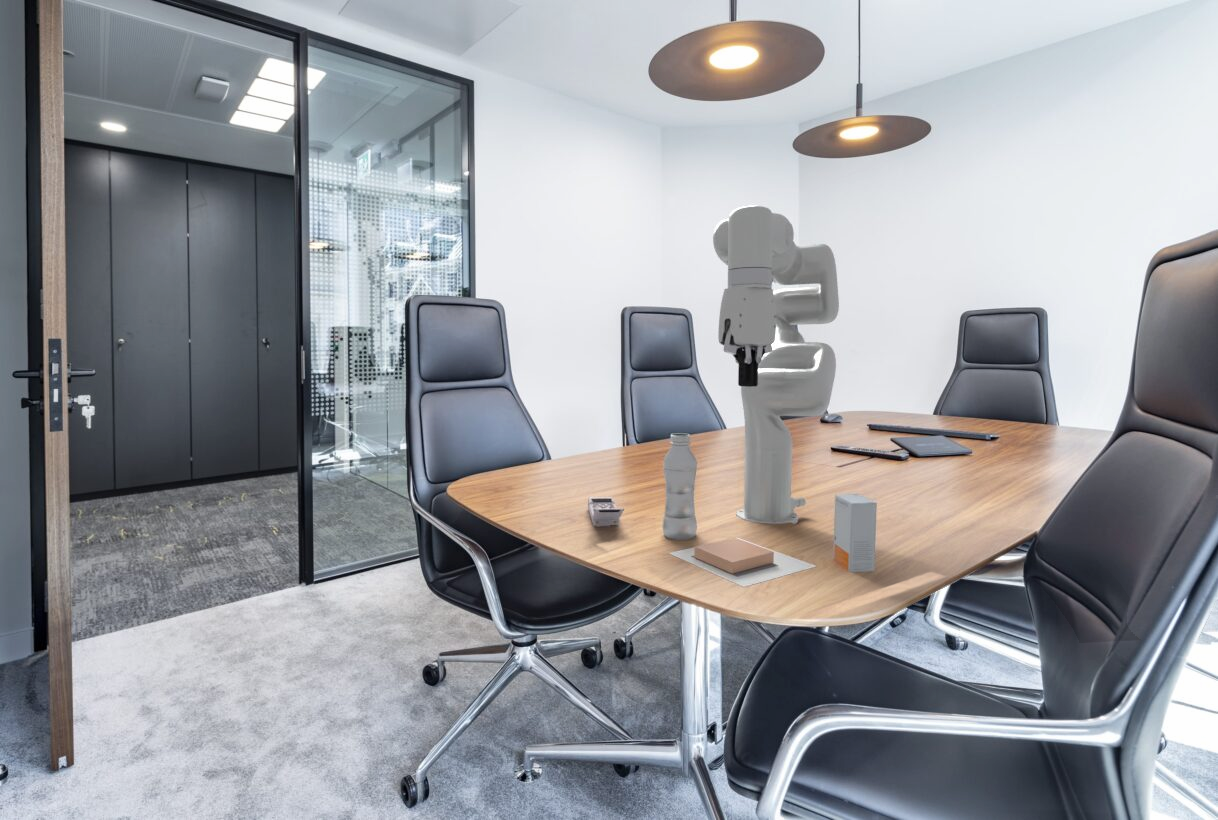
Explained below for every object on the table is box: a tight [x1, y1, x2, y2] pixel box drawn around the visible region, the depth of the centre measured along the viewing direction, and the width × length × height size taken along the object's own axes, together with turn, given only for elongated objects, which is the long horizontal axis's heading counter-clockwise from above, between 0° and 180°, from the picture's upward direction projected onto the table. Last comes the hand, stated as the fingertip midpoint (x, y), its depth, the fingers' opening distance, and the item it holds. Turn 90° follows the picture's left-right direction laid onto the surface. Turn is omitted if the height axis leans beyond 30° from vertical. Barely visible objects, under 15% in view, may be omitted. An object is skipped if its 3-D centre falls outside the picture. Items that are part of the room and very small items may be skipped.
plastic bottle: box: [661, 432, 698, 541], centre depth 114 cm, size 6×7×20 cm
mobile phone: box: [587, 496, 625, 527], centre depth 129 cm, size 6×6×25 cm
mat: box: [668, 537, 818, 588], centre depth 102 cm, size 16×18×1 cm
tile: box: [694, 537, 774, 574], centre depth 101 cm, size 2×9×9 cm
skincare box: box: [832, 493, 878, 573], centre depth 98 cm, size 6×4×12 cm
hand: (747, 385), depth 109 cm, fingers closed
